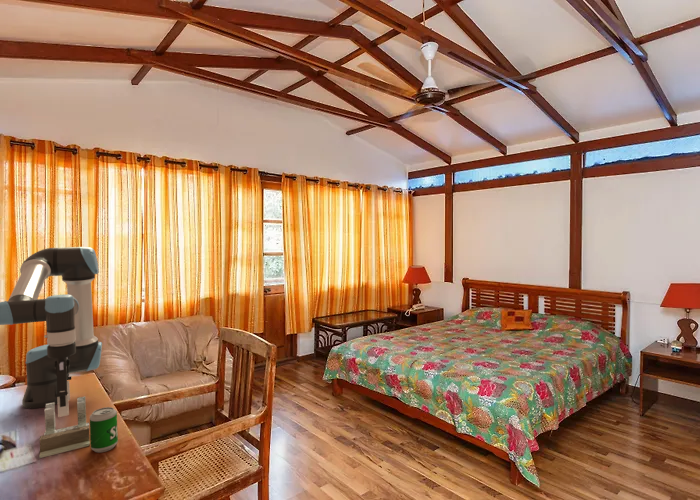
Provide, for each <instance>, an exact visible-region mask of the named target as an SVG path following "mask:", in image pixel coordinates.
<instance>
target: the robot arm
mask: <svg viewBox="0 0 700 500" xmlns="http://www.w3.org/2000/svg"><path fill="white" fill-rule="evenodd" d="M98 262H99V261H98V257H97V254H96V251H95V249H94V248H92V247H88V246H72V247H71V246H70V247H69V246H68V247H48V248H43V249H40V250H39V251H36V252H34V253H33V254H31V255H29V256H28V257H27V258H26V259H25V260H24V261H23V262H22V264H21V266H20V267H19V273H20V276H19V277H18V279H17V282H16V284H15V286H14V288H13V290H12V292H11V294H10V296H9V298H8V300H4V301H0V326H4V325H8V326H9V325H10V326H12V325H20V324H27V323H42V322H45V323H46V326H45V327H46V330H45V331H46V334H45V335H44V338H45V339H46V343H47V344H43V345H40V346H36V347H34V348H32V349H30V350H28V351H27V352H26V354H25V371H26V389H25V392H24V394H23V397H22V400H21V401H22V402H21V403H22V404H21V407H22V408H24V409H39V408H46V404H48V403H53V402H55V405H57V418H61V417H66V416H69V415H70V409H69V407H70V406H69V401H71V392H70V391H71V390H70V381H72V376H70V374H73V373H74V374H75V373H82V372H89V371H94V370H97V369H98V368H99V367H100V364H101V358H102V352H103V351H102V350H103V342H101V341H99V338H98V337H97V336H95V334H94V331H95V330H94V316H93V314H94V313H93V293H92V282H93V281H94V280H95V278H96V275H98V274H99V270H100V269H99V263H98ZM59 276H60V277H61V280H62V281H63V282H64V283H65V284H66V292H67V294H66V293H65V294H56V295H55V294H54V295H50V296H47V297H46V298H39V296H40V293H41V291H42V288H43V286H44V283H45V280H47V279H48V278H49V277H59Z"/></svg>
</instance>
